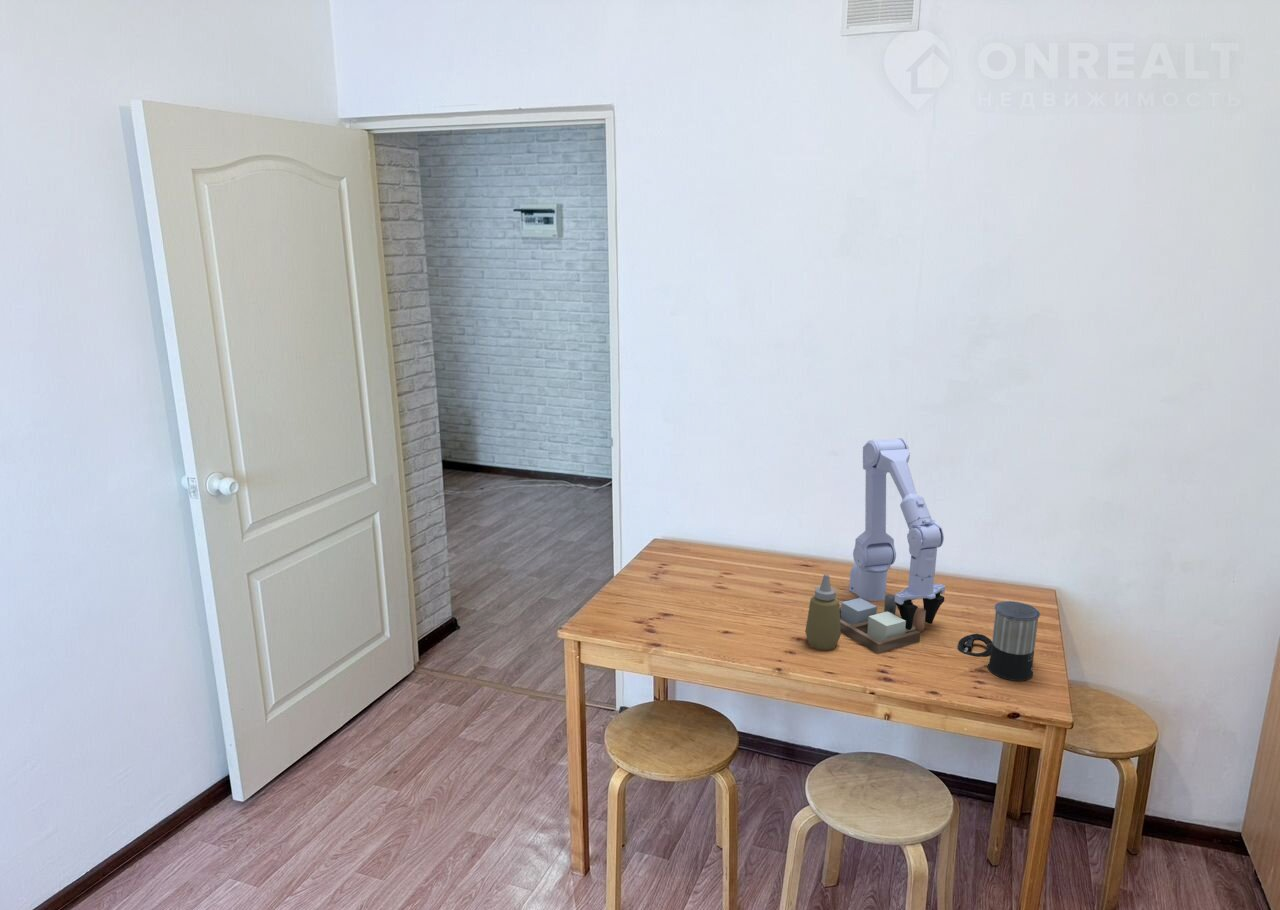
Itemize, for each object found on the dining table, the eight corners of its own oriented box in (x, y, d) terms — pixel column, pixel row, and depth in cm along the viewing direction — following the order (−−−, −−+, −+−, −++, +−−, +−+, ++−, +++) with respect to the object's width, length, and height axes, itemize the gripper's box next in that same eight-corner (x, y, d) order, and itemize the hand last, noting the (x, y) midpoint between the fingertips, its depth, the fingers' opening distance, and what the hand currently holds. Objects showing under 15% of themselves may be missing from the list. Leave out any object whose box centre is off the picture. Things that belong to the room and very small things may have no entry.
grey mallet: (840, 620, 204) (841, 602, 202) (885, 609, 210) (886, 591, 209) (856, 630, 198) (858, 611, 197) (902, 618, 205) (904, 599, 204)
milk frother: (1033, 685, 175) (1041, 621, 172) (955, 671, 181) (961, 609, 178) (1031, 656, 188) (1039, 596, 184) (958, 643, 194) (964, 585, 190)
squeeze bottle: (833, 658, 186) (837, 584, 182) (799, 649, 191) (803, 577, 186) (844, 644, 193) (849, 573, 189) (811, 636, 197) (815, 566, 193)
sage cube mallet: (867, 635, 196) (868, 616, 195) (913, 623, 202) (914, 604, 201) (885, 645, 191) (886, 626, 189) (931, 632, 197) (933, 613, 196)
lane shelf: (821, 624, 204) (822, 611, 203) (904, 602, 216) (905, 591, 216) (877, 657, 187) (878, 644, 186) (964, 632, 200) (965, 619, 199)
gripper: (912, 584, 189) (907, 638, 192) (957, 573, 195) (951, 625, 199) (890, 573, 195) (885, 626, 198) (934, 563, 201) (929, 614, 205)
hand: (917, 625), depth 199 cm, fingers open, 6 cm apart
